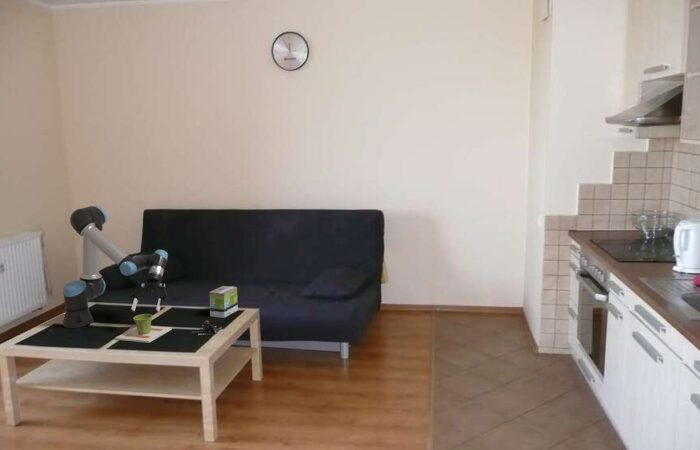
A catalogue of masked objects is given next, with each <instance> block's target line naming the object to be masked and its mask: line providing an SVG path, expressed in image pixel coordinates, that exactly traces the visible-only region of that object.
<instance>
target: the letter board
mask: <svg viewBox="0 0 700 450" xmlns="http://www.w3.org/2000/svg"><path fill="white" fill-rule="evenodd" d="M172 329H173V328H172V327H169V326H168V327H165V326H156V325H154V326H153V325H151V331H150V332H149V333H145V334H139V333H138V330H137V326H135V327H133V328H131V329H130V330H128V331H125V332H124V333H122V334H120V335H118V336H115V338H114V339H115V340H117V341H127V342H137V343H147V344H148V343H151V342H152V341H154V340H156V339H158V338H160V337H161V336H163V335H165V334H167V333H168V332H170V331H172Z"/></svg>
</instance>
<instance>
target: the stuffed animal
mask: <svg viewBox="0 0 700 450" xmlns="http://www.w3.org/2000/svg"><path fill="white" fill-rule="evenodd" d="M203 324H204V325H203ZM203 324H202V325H201V328H202V329H203V330H196V331H191V334H198V335H197V336H205V335H206V336H207V335H213V334H217V333H218V331H220V330H221V329H222V328H223V327H222V326H220V327H219V328H217V325H215V326H213V324H211V323H210V321H209V320H205V321H204V322H203ZM202 333H203V334H202Z"/></svg>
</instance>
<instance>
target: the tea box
mask: <svg viewBox="0 0 700 450" xmlns="http://www.w3.org/2000/svg"><path fill="white" fill-rule="evenodd" d="M238 306H239V304H238V287H237V286H230V285H229V286H228V285H226V286H225V285H221V286H220V287H217V288H216V289H213V290H211V291H209V309H210V310H209V315H210V317H212V318H222V319H225V318H226V317H228V316H230V315H231V314H234V313H236V312H237V311H239V310H238V309H239V307H238Z"/></svg>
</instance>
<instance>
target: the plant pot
mask: <svg viewBox="0 0 700 450" xmlns="http://www.w3.org/2000/svg"><path fill="white" fill-rule="evenodd" d="M152 318H153V314H151V313H144V314H143V313H142V314H141V313H140V314H138V315H135V316H133V318H132V319H133V320H134V322H135V327H137V330H138V333H139V334H145V333H149V332H150V331H151V326H152V320H153V319H152Z"/></svg>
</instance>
